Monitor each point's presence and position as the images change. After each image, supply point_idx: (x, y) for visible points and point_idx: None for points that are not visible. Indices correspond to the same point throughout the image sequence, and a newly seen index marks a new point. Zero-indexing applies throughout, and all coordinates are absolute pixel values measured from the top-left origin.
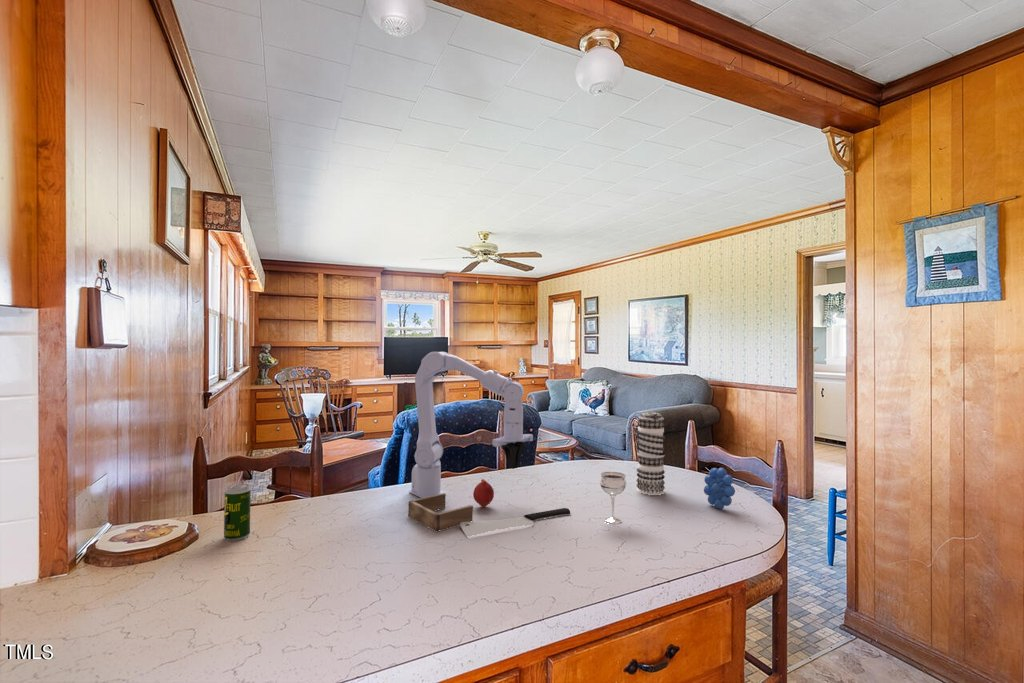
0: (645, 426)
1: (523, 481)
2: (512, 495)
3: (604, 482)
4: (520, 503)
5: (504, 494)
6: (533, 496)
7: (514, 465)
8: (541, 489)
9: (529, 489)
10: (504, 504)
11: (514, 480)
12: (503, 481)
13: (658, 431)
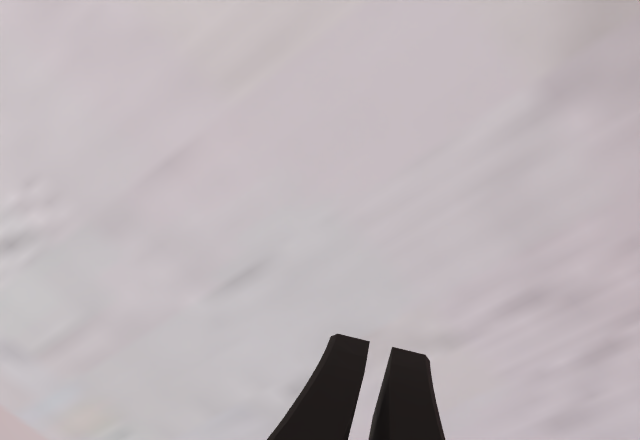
0: None
1: (23, 316)
2: (327, 211)
3: None
4: (470, 22)
5: (352, 271)
6: (209, 52)
7: (411, 383)
8: (20, 113)
9: (105, 190)
10: (593, 128)
11: (63, 367)
12: (138, 406)
13: None
